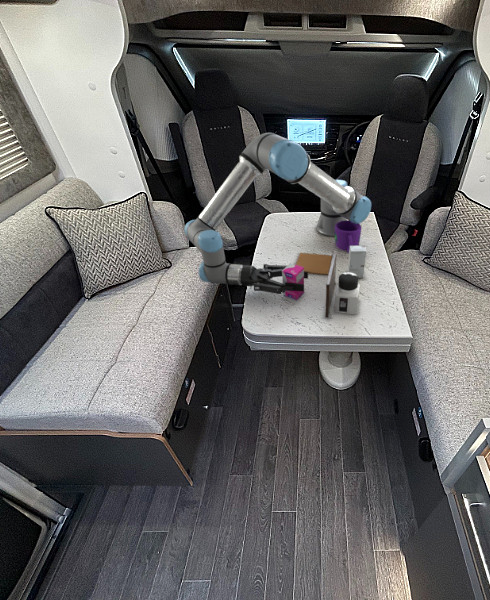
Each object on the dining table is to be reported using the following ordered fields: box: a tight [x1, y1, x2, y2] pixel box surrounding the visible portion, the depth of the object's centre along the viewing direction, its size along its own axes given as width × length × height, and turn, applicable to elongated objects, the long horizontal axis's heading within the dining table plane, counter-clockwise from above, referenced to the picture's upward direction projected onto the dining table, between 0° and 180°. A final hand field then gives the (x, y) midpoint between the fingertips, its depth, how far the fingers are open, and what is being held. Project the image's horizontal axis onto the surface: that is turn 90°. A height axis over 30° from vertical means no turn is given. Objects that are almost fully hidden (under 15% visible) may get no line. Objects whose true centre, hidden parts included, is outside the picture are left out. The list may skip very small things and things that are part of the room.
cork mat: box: [295, 252, 333, 276], centre depth 141 cm, size 14×14×1 cm
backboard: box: [324, 251, 338, 319], centre depth 119 cm, size 20×1×14 cm, turn 171°
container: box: [333, 272, 361, 315], centre depth 116 cm, size 8×8×13 cm
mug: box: [334, 220, 362, 254], centre depth 147 cm, size 17×11×10 cm, turn 3°
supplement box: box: [281, 262, 305, 301], centre depth 121 cm, size 6×6×12 cm
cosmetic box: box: [347, 245, 367, 279], centre depth 132 cm, size 6×4×12 cm
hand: (305, 281), depth 120 cm, fingers closed on supplement box, 7 cm apart
